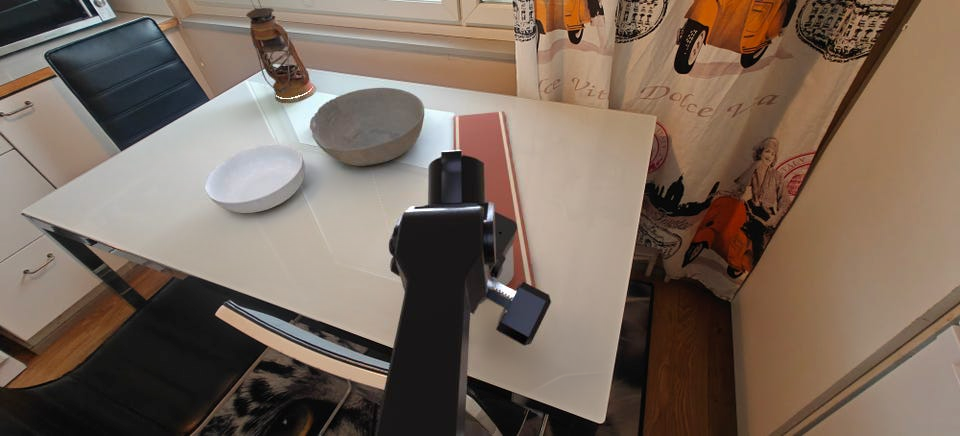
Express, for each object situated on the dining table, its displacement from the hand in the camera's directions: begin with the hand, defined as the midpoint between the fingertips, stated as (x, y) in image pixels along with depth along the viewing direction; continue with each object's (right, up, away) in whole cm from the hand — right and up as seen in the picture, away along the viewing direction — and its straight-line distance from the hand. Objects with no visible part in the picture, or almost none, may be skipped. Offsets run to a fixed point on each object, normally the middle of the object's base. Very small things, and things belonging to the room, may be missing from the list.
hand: (474, 295), depth 55 cm
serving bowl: (-49, +16, +40) cm, 65 cm away
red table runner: (+2, +18, +36) cm, 40 cm away
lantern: (-59, +51, +77) cm, 109 cm away
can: (+3, 0, +17) cm, 17 cm away
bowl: (-26, +29, +50) cm, 63 cm away
